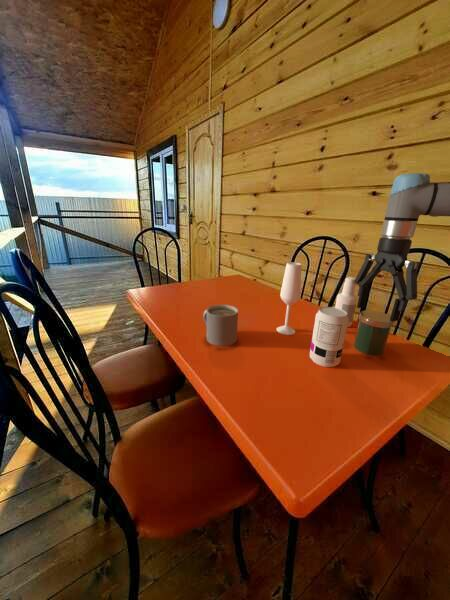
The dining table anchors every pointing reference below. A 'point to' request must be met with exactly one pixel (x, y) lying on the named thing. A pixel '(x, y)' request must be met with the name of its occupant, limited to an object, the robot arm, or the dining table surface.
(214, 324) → the coffee mug
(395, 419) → the dining table surface
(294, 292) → the champagne flute
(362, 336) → the jam jar
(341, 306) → the spray bottle
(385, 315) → the jar lid
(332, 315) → the supplement can
